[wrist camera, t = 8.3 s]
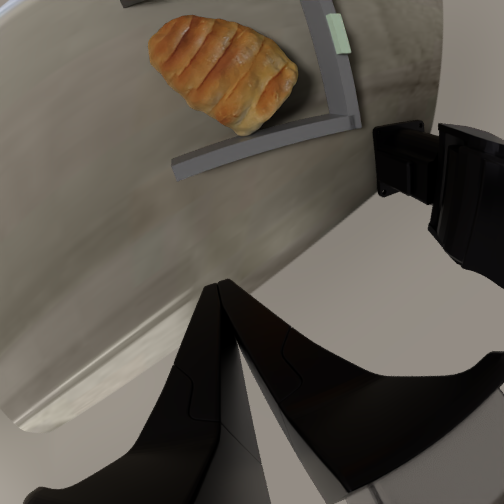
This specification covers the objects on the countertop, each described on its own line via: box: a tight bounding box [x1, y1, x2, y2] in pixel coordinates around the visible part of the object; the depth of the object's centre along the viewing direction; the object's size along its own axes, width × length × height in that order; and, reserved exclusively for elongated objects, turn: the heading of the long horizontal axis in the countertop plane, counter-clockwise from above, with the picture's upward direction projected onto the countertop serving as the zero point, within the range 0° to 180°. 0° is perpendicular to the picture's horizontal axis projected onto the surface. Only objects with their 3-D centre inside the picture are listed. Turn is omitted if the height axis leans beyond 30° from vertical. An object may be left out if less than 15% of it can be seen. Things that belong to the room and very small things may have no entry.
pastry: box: [148, 15, 298, 136], centre depth 13 cm, size 9×7×4 cm
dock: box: [120, 0, 362, 181], centre depth 13 cm, size 13×14×3 cm
